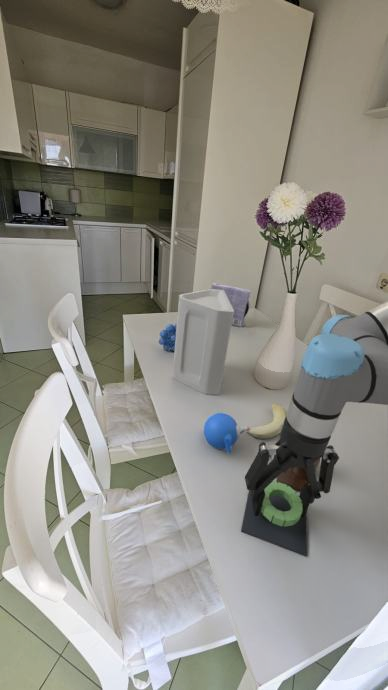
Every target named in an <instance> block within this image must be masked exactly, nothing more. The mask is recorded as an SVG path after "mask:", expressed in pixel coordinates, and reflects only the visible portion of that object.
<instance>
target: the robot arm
mask: <svg viewBox="0 0 388 690" xmlns="http://www.w3.org/2000/svg"><path fill="white" fill-rule="evenodd" d="M293 389H294V390H293V392H292V396H291V398H290V402H289V405H288V408H287V411H286V418H285V420H284V424H283V427H282V430H281V433H279V439H278V440H277V441H276V443H274V444H273V445H272V444H269V445H267V443H266V442H265V441H261V442H259V444H258V452H257V454H256V456H255V458H254V459H253V461H252V462H251V464H250V466H249V469H248V470H247V472H246V473H245V475H244V481H245V486H246V490H247V491H249V490H251V497H252V505H253V510H254V515H255V516H259V513H260V510H261V506H262V503H263V500H264V497H265V491H264V489H265V488H266V487H267V486H268V485H269V484H270V483H271V482H274V481H275V480H276V479H277V477H278V476H279V475H280V474H281V473H282V472H283V473H285V472H286V471H287V470H288V469H289V468H294V467H298V468H305V471H306V474H307V478H308V482H309V486H308V484H305V483H304V485H303V487H302V490H301V492H299V494H298V495H299V497H300V499H301V501H302V503H303V510H302V514H301V517H303V518H304V516H305V513H306V514H307V511H308V508H309V506H310V505H312V504H313V503H314V502H315V500H319V499H321V498H322V494H321V492H323V493H324V494H328V493H330V492H331V486H332V482H333V476H334V470H335V465H336V464H337V462H338V461H339V459H340V456H339V455H338V453H337V451H336V449H335V447H334V446H333V445H331V444H329V443H330V441H331V437H332V435H333V433H334V432H335V429H336V426H337V424H338V421H339V419H340V416H341V414H342V412H343V410H344V407H345V405H346V403H358V404H363V403H364V404H374V405H383V406H388V300H387V301H385V302H383V303H381V304H379V305H376V306H375V307H373V308H371V309H368V310H367V311H365V312H363V313H360V314H359V315H356V316H355V317H354V316H353V315H348V314H337V315H334V316H332V317H330V318H329V319H328V320H327V321H326V322H325V323H324V325H323V327H322V329H321V334H318V335H316V336H314V337H313V338H311V340H310V342H309V343H308V346H307V347H306V350H305V352H304V356H303V357H302V360H301V363H300V369H299V372H298V376H297V379H296V383H295V387H294V388H293ZM328 444H329V445H328ZM272 458H273V459H272ZM318 459H320V467H319V472H318V473H319V474H318V480H317V475H316V472H315V468H314V462H315V461H317V460H318ZM269 461H270V462H269Z"/></svg>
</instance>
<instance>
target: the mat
mask: <svg viewBox="0 0 388 690" xmlns="http://www.w3.org/2000/svg"><path fill="white" fill-rule="evenodd" d="M269 500H270V503H271V505H272V506H273V507H275V508H276V509H277V510H280V511H283V512H285V511H290V510H291V506H290V504H289V502H288V501H287V500H286V499H285V498H284V497H282V496H279V495H273V496H271V497H269ZM242 518H243V519H242V523H241V528H240V532H241V533H244V534H247V535H249V536H252V537H254V538H257V539H259V540H262V541H265V542H267V543H269V544H272V545H276V546H277V547H280V548H283V549H286V550H288V551H291V552H293V553H295V554H298V555H301V556H304V557H307V512H306V513H305V516H304V518H303V517H300V519H299V520H298V521H297V522H296V523H295V524H293V525H292V526H286V527H284V526H279V525H277V524H274V523H272V521H271V522H270V521H269V520H268V519H267V518H266V517H265V516H264V515H263V513H262V512H261V510H260V513H259V516H255V515H254V510H253V505H252V497H251V490H248V492H247V497H246V502H245V507H244V513H243V517H242Z"/></svg>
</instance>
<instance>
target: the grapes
mask: <svg viewBox="0 0 388 690" xmlns="http://www.w3.org/2000/svg"><path fill="white" fill-rule="evenodd" d="M176 328H177V322H176V323H175V324H172V323H168V324H167V325H166V327H165V329H162V330H161V331H160V332H159V336H160V338H159V339H158V344H159V345H161V346H162V349H163V350H164V351H168V350H170V351H171V352H175V340H176Z"/></svg>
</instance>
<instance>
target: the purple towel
mask: <svg viewBox="0 0 388 690" xmlns="http://www.w3.org/2000/svg"><path fill="white" fill-rule="evenodd" d="M210 289H216V290H224V291H225V293H226V296H227V298H228V300H229V302H230V304H231V306H232V308H233V310H234V314H233V320H232V325H231V326H233V327H239V328H243V326H244V324H245V319H246V316H247V314H248V313H249V310H250V296H251V289H246V288H241V287H236V286H233V285H227V284H223V283H217V282H213V283H211V287H210Z"/></svg>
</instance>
